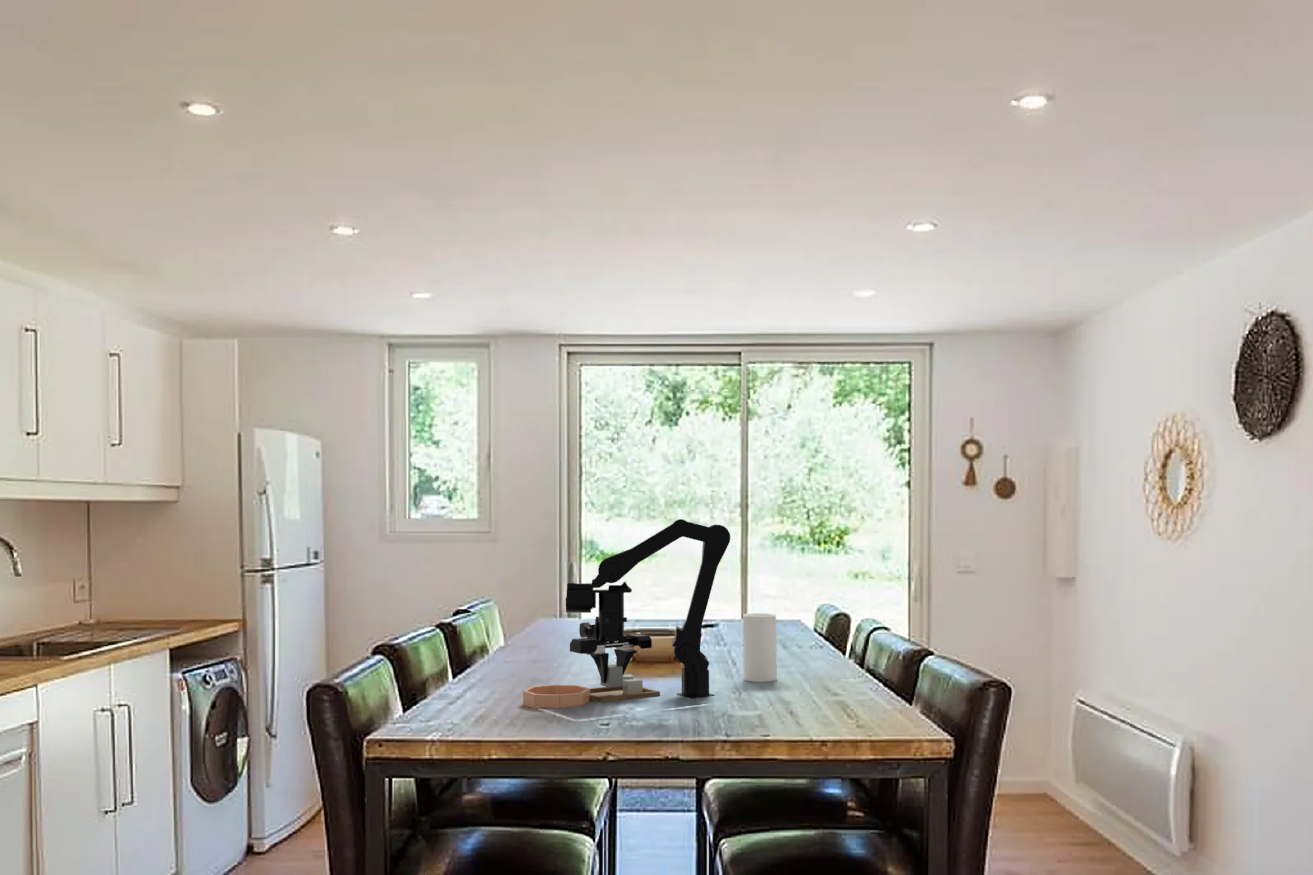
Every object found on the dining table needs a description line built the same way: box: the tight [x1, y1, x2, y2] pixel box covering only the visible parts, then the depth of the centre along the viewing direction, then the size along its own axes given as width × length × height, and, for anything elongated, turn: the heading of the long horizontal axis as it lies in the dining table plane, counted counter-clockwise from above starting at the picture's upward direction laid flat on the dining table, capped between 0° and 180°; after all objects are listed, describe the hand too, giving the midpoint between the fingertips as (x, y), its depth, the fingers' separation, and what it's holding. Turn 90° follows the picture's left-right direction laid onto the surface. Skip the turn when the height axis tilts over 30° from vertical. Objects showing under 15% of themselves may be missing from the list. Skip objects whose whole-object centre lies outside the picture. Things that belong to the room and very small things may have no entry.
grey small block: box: [623, 678, 644, 694], centre depth 243 cm, size 4×3×3 cm
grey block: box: [600, 664, 623, 688], centre depth 241 cm, size 4×3×4 cm
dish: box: [522, 684, 591, 710], centre depth 234 cm, size 14×14×3 cm
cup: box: [742, 612, 778, 683], centre depth 267 cm, size 8×8×16 cm
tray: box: [589, 686, 661, 703], centre depth 242 cm, size 13×16×1 cm
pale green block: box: [623, 674, 634, 680], centre depth 256 cm, size 3×4×3 cm
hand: (611, 682), depth 241 cm, fingers closed on grey block, 3 cm apart
